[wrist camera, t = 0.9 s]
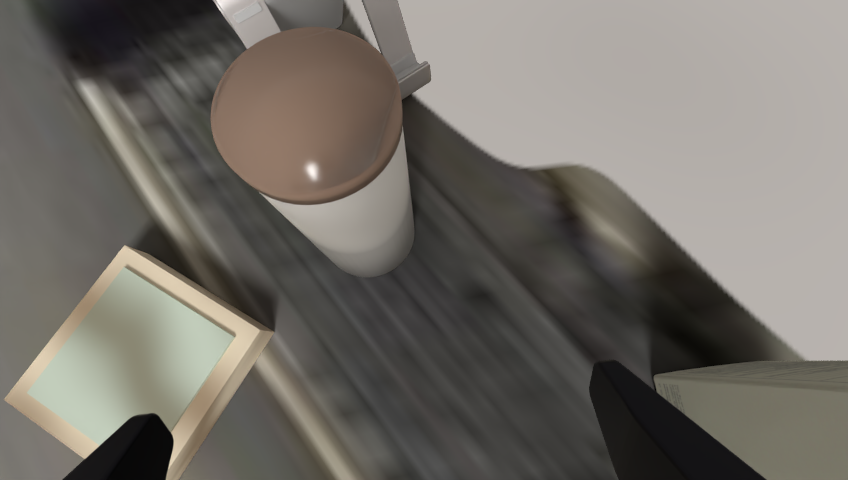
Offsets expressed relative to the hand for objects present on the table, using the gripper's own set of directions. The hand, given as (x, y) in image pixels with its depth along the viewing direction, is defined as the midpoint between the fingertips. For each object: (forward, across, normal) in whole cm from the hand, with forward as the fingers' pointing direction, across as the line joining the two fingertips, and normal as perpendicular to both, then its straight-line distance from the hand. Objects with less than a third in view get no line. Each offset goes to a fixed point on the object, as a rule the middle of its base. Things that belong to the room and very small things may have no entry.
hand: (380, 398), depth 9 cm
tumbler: (+16, +2, +5) cm, 17 cm away
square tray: (+11, +14, +10) cm, 20 cm away
